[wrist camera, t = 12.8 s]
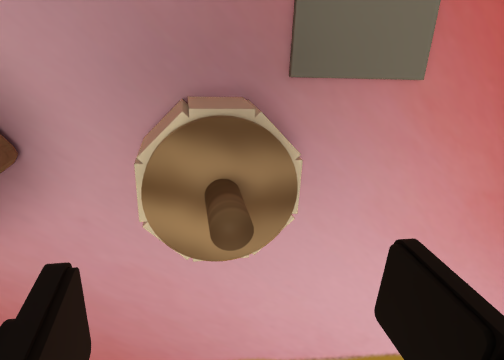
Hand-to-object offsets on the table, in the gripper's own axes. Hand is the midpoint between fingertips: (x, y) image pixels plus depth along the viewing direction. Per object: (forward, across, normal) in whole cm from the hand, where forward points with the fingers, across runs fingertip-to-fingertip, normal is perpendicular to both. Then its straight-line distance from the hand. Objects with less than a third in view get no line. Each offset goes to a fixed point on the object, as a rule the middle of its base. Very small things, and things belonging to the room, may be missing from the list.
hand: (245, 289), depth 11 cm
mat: (+25, -16, -10) cm, 31 cm away
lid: (+19, -2, +6) cm, 20 cm away
